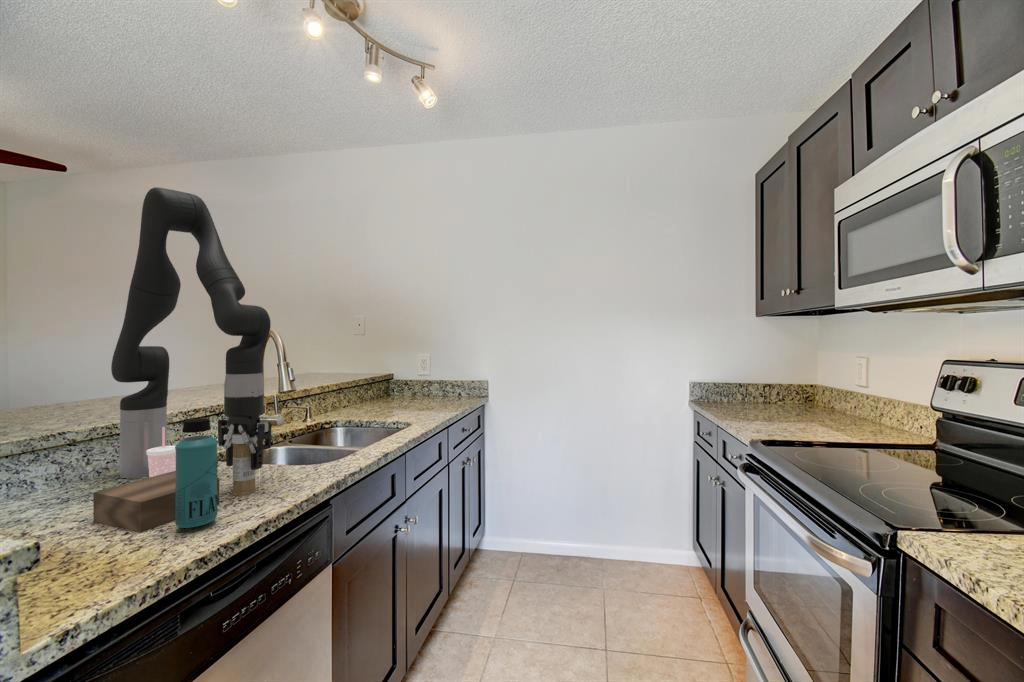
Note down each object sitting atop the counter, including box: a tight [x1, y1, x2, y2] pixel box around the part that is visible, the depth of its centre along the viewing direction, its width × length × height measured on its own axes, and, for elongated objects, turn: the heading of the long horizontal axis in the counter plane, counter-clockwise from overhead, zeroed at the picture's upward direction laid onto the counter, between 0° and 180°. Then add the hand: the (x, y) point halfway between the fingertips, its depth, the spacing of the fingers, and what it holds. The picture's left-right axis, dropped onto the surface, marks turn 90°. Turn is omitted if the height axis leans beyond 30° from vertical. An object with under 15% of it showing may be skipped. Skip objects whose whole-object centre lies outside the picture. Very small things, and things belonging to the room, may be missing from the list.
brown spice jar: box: [232, 434, 257, 496], centre depth 95 cm, size 5×5×14 cm
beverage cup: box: [146, 427, 176, 478], centre depth 99 cm, size 6×6×14 cm
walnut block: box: [92, 471, 221, 534], centre depth 84 cm, size 14×14×6 cm
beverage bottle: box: [174, 417, 219, 529], centre depth 77 cm, size 6×7×20 cm
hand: (244, 467), depth 95 cm, fingers open, 7 cm apart
